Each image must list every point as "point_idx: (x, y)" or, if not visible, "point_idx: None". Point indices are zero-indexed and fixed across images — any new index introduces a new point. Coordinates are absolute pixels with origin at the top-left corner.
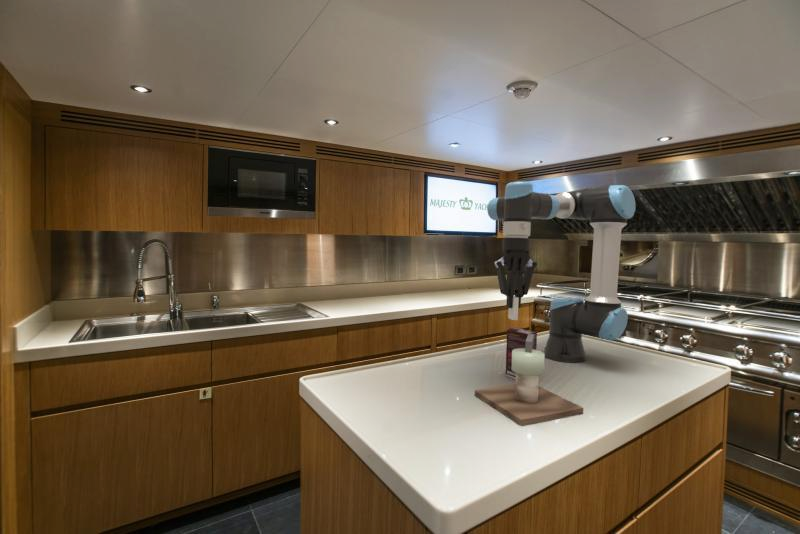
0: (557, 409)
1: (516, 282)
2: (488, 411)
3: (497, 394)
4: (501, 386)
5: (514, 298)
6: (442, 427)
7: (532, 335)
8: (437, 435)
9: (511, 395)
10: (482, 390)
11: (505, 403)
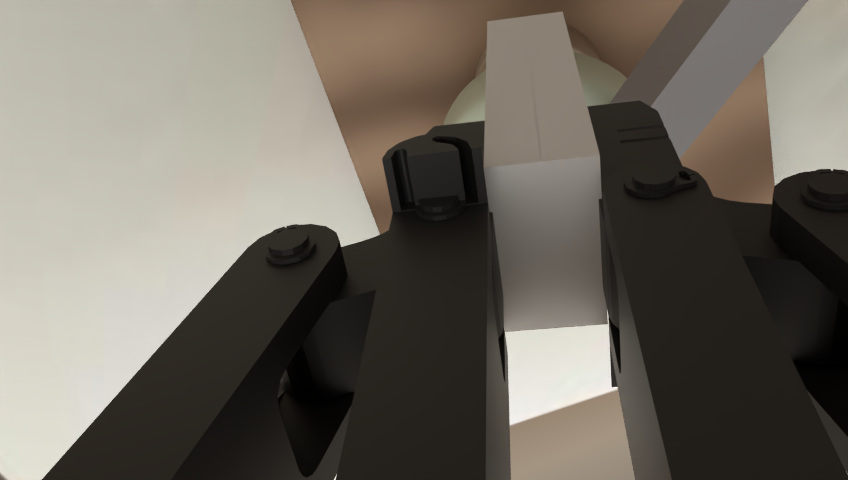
0: None
1: (653, 472)
2: (303, 137)
3: (390, 9)
4: None
5: (514, 317)
6: (83, 253)
7: (747, 55)
8: (66, 303)
9: (471, 30)
10: None
11: (392, 133)
